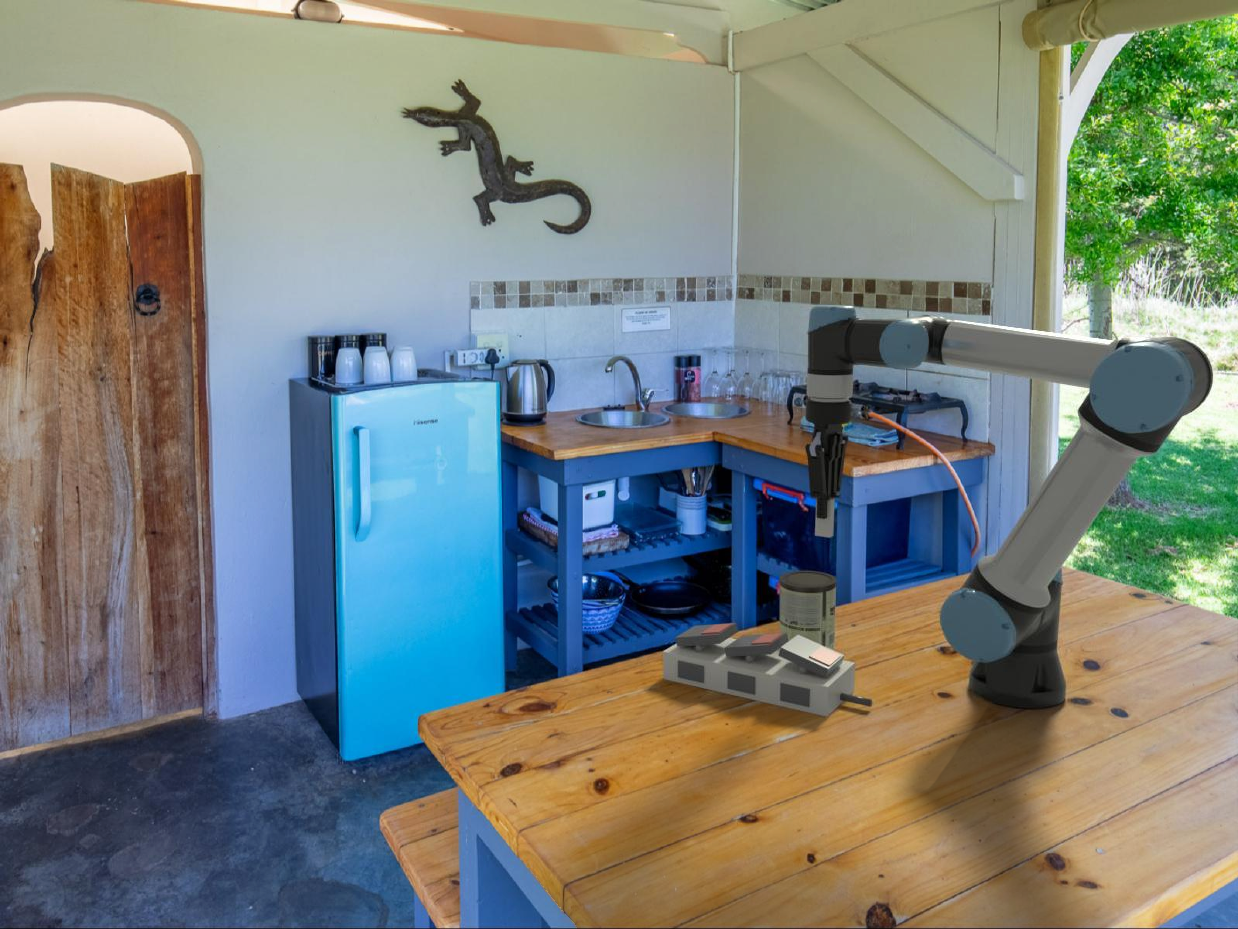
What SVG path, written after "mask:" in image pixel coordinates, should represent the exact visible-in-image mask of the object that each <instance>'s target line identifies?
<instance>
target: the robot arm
mask: <svg viewBox="0 0 1238 929" xmlns="http://www.w3.org/2000/svg"><path fill="white" fill-rule="evenodd" d="M806 334H807V338H808V339H807V373H806V377H805V379H804V382H805V383H806V396H807V397H809V398H808V399H807V400H806V402H805V420H806V422H808V423H810V424H811V423H812V424H813V431H812V437H811V442H812V443H806V444H805V447H804V448H805V453H806V458H807V468H808V480H809V481H808V482H809V495H810V496H809V497H810V499H814V500H815V499H816V500H815V521H814V522H815V527H814V536H816V537H822V538H823V537H824V538H829V539H830V538H832V537H833V536H834V529H835V528H834V525H835V524H834V523H835V521H834V520H835V498H836V499H840V498H841V496H842V495H841V494H842V493H840V492H841V489H842V482H843V481H842V479H843V473H844V466H845V458H846V457H845V456H846V452H847V445H848V442H849V435H846V434H843V425H845V424H849V423H850V422H852V408H853V403H852V401H851V400H850V399H851V398H852V396H853V391H854V390H853V389H854V387H853V386H854V365H855V366H868V367H869V366H870V367H881V368H883V367H884V368H890V369H891V368H892V369H894V370H900V369H917V368H918V367H920V366H921V365H922V364H923V363H926V364H927V363H928V364H934V365H940V366H941V365H943V366H949V367H956V368H963V369H968V370H975V371H981V372H987V373H994V374H999V375H1005V376H1009V377H1010V376H1011V377H1018V378H1023V379H1024V378H1025V379H1030V380H1037V381H1042V382H1046V383H1048V382H1049V383H1054V384H1060V385H1067V386H1073V387H1077V388H1084V389H1089V390H1088V393H1087V395H1086V396H1085V398H1084V399H1083V401H1082V403H1081V405H1080V406H1079V407H1078V409H1077V412H1076V413H1077V416H1078V420H1079V423H1080V427H1079V428H1078V429H1077V431H1076V432H1075V434H1074V435H1073V437H1072V439H1071V440H1070V441H1069V443H1068V444H1067V446H1066V448H1065V449H1064V451H1063V452H1062V453H1061V455H1060V457H1059V458H1058V459H1057V461H1056V462H1055V464H1054V466H1053V468H1052V469H1051V471H1050V472H1049V473H1048V474H1047V476H1046V478H1045V479H1044V481H1043V482H1042V484H1041V485H1040V487H1039V489H1038V490H1037V491H1036V493H1035V495H1033V497H1032V499H1031V501H1030V502H1029V503H1028V505H1027V507H1026V508H1025V510H1024V511H1023V513H1022V514H1021V516H1020V517H1019V518H1018V520H1017V522H1016V523H1015V525H1014V526H1013V528H1012V529H1011V531H1010V533H1009V534H1008V535H1007V537H1006V538H1005V540H1004V541H1003V543H1002V544H1001V546H1000V547H999V549H998V550H997V552H996V553H992V554H989V555H985V556H982V557H981V558H980V559H979V560H978V562H977V563H976V565H975V566H974V567H973V569H972V570H971V572H970V574H969V575H968V577H967V578H966V580H965V582H964V583H963V584H962V585H961V587H960V588H959V589H956V590H954V591H953V592H951V593H950V594H949V595H948V596H947V597H946V598H945V600H944V602H943V603H942V605H941V608H940V613H939V624H940V627H941V630H942V634H943V637H944V638H945V640H946V641H947V643H948V644H949V645H950V647H951V648H953V650H954V651H955V652H957V653H958V654H959V655H961V656H962V657H964V658H966V659H968V660H971V661H973V663H972V665H971V668H970V671H969V674H968V676H969V677H968V688H969V689H970V690H971V692H972V693H973V694H974V695H976V696H977V697H979V698H982V699H984V700H986V701H988V702H991V703H994V704H998V705H1001V706H1006V707H1013V708H1019V709H1045V708H1050V707H1051V708H1052V707H1054V706H1057V705H1058V706H1059V704H1061V703H1063V702H1064V701H1065V700H1066V694H1067V682H1066V678H1065V676H1064V675H1065V674H1064V672H1063V667H1062V664H1061V660H1060V655H1059V653H1058V643H1059V642H1058V640H1059V626H1060V617H1061V616H1060V614H1061V600H1062V589H1063V588H1062V587H1063V585H1064V581H1063V568H1062V567H1063V565H1064V564H1065V563H1066V561H1067V559H1068V558H1069V556H1070V555H1071V554H1072V553H1073V551H1074V550H1075V548H1076V546H1077V545H1078V544H1079V542H1080V541H1081V540H1082V538H1083V537H1084V536H1085V534H1086V533H1087V531H1088V530H1089V528H1090V527H1091V526H1092V524H1093V522H1094V521H1095V520H1096V518H1097V517H1098V515H1099V514H1100V512H1101V511H1102V510H1103V509H1104V507H1105V506H1106V505H1107V502H1108V501H1109V499H1110V498H1111V497H1112V495H1113V494H1114V493H1115V492H1116V490H1117V488H1118V487H1119V485H1120V484H1121V483H1122V481H1123V480H1124V479H1125V477H1126V476H1127V474H1128V473H1129V471H1131V468H1132V467H1133V466H1134V464H1135V463H1136V461H1138V459H1139V458H1142V457H1147V456H1153V455H1155V454H1156V453H1157V452H1158V451H1159V449H1160V448H1161V447H1162V445H1163V444H1164V442H1165V441H1167V438H1168V437H1169V436H1170V434H1171V433H1172V431H1173V430H1174V429H1175V427H1176V426H1177V425H1178V423H1179V422H1180V420H1181V419H1182V417H1185V416H1187V415H1189V414H1190V413H1193V412H1194V411H1195V410H1197V409H1198V408H1199V407H1200V406H1201V405H1202V404H1203V403H1204V402H1205V401H1206V400H1207V398H1208V396H1209V395H1210V392H1211V389H1212V387H1213V382H1214V372H1213V367H1212V366H1213V365H1212V364H1211V361H1210V359H1209V357H1208V356H1207V354H1206V353H1205V352H1204V351H1203V349H1201V347H1199V346H1198V345H1197V344H1195V343H1193V342H1192V341H1190V340H1187V339H1183V338H1180V337H1176V336H1163V337H1162V336H1161V337H1160V336H1159V337H1151V336H1149V337H1146V336H1145V337H1144V336H1134V335H1133V336H1132V335H1125V334H1122V335H1121V336H1119V337H1118V338H1116V339H1115V340H1110V339H1109V340H1108V339H1102V338H1094V337H1087V336H1081V335H1071V334H1063V333H1055V332H1049V331H1048V332H1047V331H1040V330H1033V329H1025V328H1020V327H1019V328H1016V327H1009V326H1004V325H1003V326H1002V325H996V324H988V323H979V322H972V321H965V320H957V319H955V320H954V319H953V320H952V319H948V318H945V317H943V316H939V315H935V314H934V315H932V314H923V315H919V316H913V317H902V318H899V317H898V318H890V319H889V318H888V319H887V318H886V319H880V318H879V319H874V318H873V319H872V318H871V319H870V318H869V319H867V318H865V319H864V318H859V317H857V312H856V308H855V307H854V306H852V305H845V304H843V305H842V304H824V305H823V304H819V305H815V306H813V307H812V308H811V309H810V312H809V321H808V330H807V333H806Z"/></svg>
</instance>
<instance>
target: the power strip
mask: <svg viewBox="0 0 1238 929" xmlns="http://www.w3.org/2000/svg"><path fill="white" fill-rule="evenodd" d="M737 639H738V638H732V637H729V638H728V639H726V640H725V641H723V642H722V643H720V644H710V645H694V646H678V647H677V643H675V644H672V645H671V646H670V647H668V648H667V649H665V650H663V651H662V662H663V663H662V671H663V672H662V679H663V680H666V681H670V682H675V683H680V684H683V685H687V686H692V687H697V688H701V689H705V690H710V691H714V692H719V693H723V694H727V695H732V696H735V697H740V698H744V699H749V700H753V701H757V702H762V703H765V704H770V705H774V706H779V707H783V708H787V709H792V710H796V711H801V712H804V713H809V714H813V715H819V716H823V717H828V716H830V715H831V714H832V713H833V712H835V710H836V709H837V708H838V707H839V706H840V705H841V704H842V703H844V702H846V703H847V702H848V703H851V704H857V705H860V706H865V707H870V708H871V707H872V705H873V699H872V698H868V697H862V696H858V695H855V694H853V693H854V691H855V673H856V672H855V671H856V662H853V661H848V660H844V659H843V661H842V664H841V665H840V666H839V667H838V668H836V669H835V670H834V671H833V672H832V673H831V674H829V675H828V676H827V677H826V678H825V677H823V676H821V675H819V674H817V673H814V672H812V671H810V670H808V669H806V668H804V667H801V666H799V665H797V664H795V663H793V662H791V661H788V660H786V659H784V658H782V657H780V656H778V655H779V652H780V648H779V649H778V650H777V651H775V652H774V653H773V654H770V655H751V656H732V657H726V653H725V649H724V648H725V647H726V646H728V645H729V644H731V643H732V642H734V641H735V640H737Z"/></svg>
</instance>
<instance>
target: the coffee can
mask: <svg viewBox="0 0 1238 929" xmlns="http://www.w3.org/2000/svg"><path fill="white" fill-rule="evenodd" d="M837 583H838V579H837V578H836V577H835V576H834V575H832V574H829V573H827V572H822V571H816V570H795V571H790V572H786V573H783V574H781V575H780V577H779V633H786V632H787V636H788V641H790V640H791V639H793V638H794V637H795V636H797V635H800V636H802V637H804V638H807V639H809V640H811V641H813V642H816V643H818V644H820V645H822V646H825V647H827V648H829V649H831V650H834V651H835V643H836V642H835V638H836V635H835V634H836V632H835V631H836V602H837V600H836V597H837V596H836V594H837V593H836V592H837Z"/></svg>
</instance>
